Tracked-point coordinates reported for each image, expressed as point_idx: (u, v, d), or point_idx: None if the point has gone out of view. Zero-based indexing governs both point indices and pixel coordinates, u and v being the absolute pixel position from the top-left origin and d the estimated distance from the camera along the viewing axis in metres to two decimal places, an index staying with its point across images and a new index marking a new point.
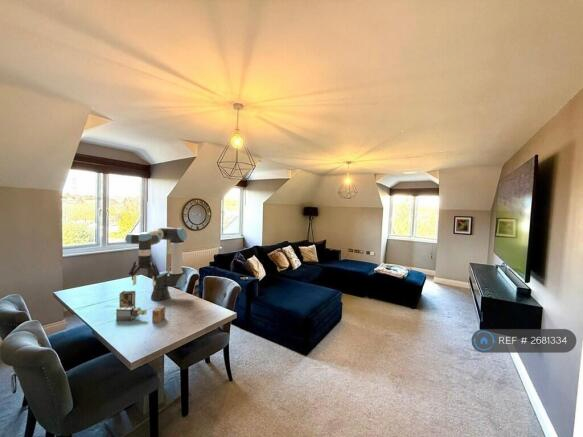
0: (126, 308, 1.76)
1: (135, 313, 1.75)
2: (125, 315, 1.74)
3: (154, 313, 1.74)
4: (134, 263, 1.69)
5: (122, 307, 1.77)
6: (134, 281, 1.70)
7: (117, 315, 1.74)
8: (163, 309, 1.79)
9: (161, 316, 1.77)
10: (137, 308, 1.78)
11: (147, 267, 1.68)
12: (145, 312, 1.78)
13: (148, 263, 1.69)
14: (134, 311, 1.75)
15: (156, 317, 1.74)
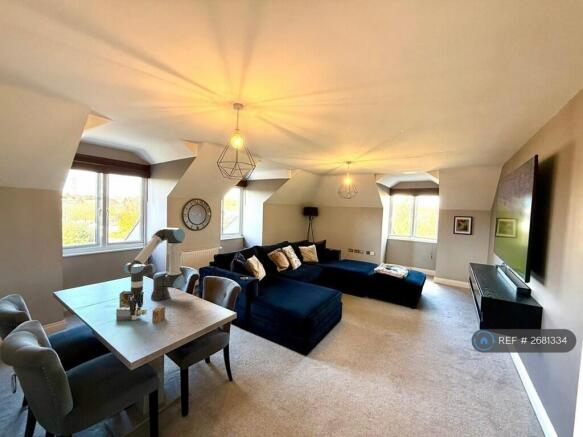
0: (126, 308, 1.76)
1: None
2: (125, 315, 1.74)
3: (154, 313, 1.74)
4: None
5: (122, 307, 1.77)
6: None
7: (117, 315, 1.74)
8: (163, 309, 1.79)
9: (161, 316, 1.77)
10: (137, 308, 1.78)
11: None
12: (145, 312, 1.78)
13: None
14: None
15: (156, 317, 1.74)
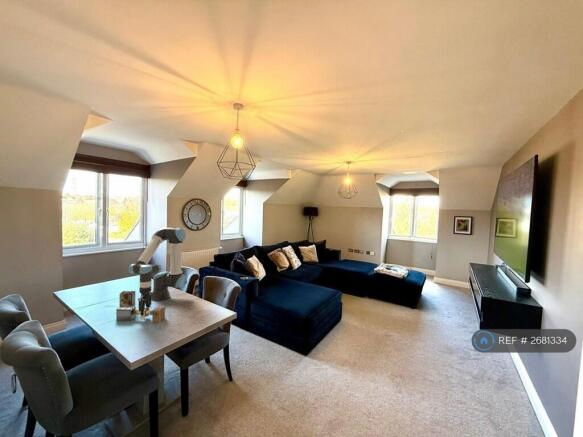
0: (126, 308, 1.76)
1: None
2: (125, 315, 1.74)
3: (154, 313, 1.74)
4: None
5: (122, 307, 1.77)
6: None
7: (117, 315, 1.74)
8: (163, 309, 1.79)
9: (161, 316, 1.77)
10: (145, 308, 1.78)
11: None
12: None
13: None
14: None
15: (156, 317, 1.74)
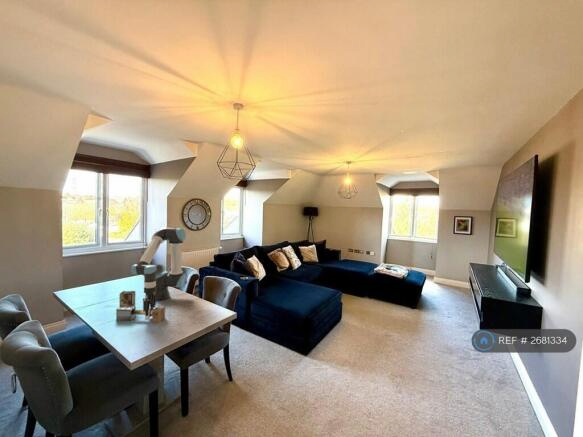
0: (126, 308, 1.76)
1: None
2: (125, 315, 1.74)
3: (154, 313, 1.74)
4: None
5: (122, 307, 1.77)
6: None
7: (117, 315, 1.74)
8: (163, 309, 1.79)
9: (161, 316, 1.77)
10: (150, 308, 1.78)
11: None
12: None
13: None
14: None
15: (156, 317, 1.74)
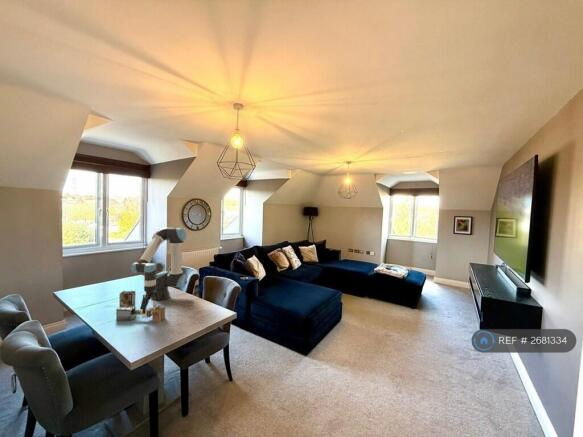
0: (126, 308, 1.76)
1: (148, 313, 1.75)
2: (125, 315, 1.74)
3: (154, 313, 1.74)
4: None
5: (122, 307, 1.77)
6: (153, 306, 1.84)
7: (117, 315, 1.74)
8: (163, 309, 1.79)
9: (161, 316, 1.77)
10: (150, 308, 1.78)
11: None
12: None
13: None
14: (147, 311, 1.75)
15: (156, 317, 1.74)
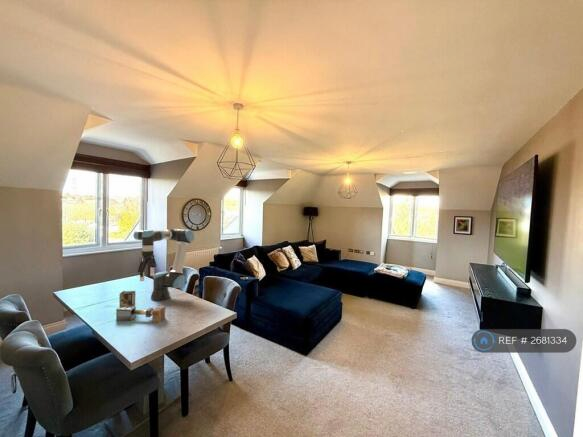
0: (126, 308, 1.76)
1: (148, 313, 1.75)
2: (125, 315, 1.74)
3: (154, 313, 1.74)
4: None
5: (122, 307, 1.77)
6: (151, 272, 1.90)
7: (117, 315, 1.74)
8: (163, 309, 1.79)
9: (161, 316, 1.77)
10: (150, 308, 1.78)
11: None
12: None
13: None
14: (147, 311, 1.75)
15: (156, 317, 1.74)
